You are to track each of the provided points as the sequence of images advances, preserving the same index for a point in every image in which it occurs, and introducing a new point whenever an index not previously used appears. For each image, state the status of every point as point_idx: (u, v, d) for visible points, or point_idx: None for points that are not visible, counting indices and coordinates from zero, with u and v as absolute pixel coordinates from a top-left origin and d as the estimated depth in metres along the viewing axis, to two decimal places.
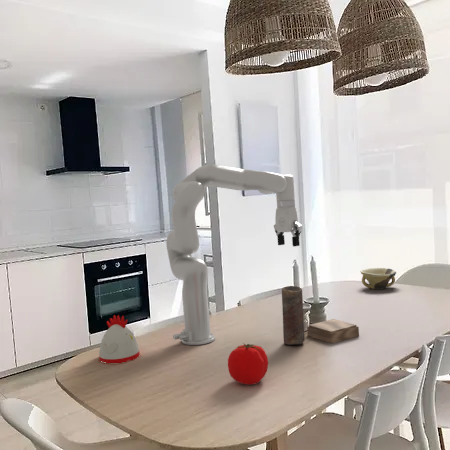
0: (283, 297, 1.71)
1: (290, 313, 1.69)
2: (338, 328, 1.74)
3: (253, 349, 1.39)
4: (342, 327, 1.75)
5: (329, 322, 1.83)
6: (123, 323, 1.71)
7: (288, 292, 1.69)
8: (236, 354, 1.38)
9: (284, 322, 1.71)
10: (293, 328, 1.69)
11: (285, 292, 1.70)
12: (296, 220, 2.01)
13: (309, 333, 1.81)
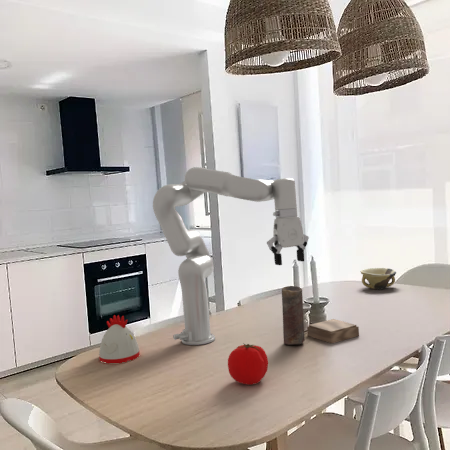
0: (283, 297, 1.71)
1: (290, 313, 1.69)
2: (338, 328, 1.74)
3: (253, 349, 1.39)
4: (342, 327, 1.75)
5: (329, 322, 1.83)
6: (123, 323, 1.71)
7: (288, 292, 1.69)
8: (236, 354, 1.38)
9: (284, 322, 1.71)
10: (293, 328, 1.69)
11: (285, 292, 1.70)
12: None
13: (309, 333, 1.81)
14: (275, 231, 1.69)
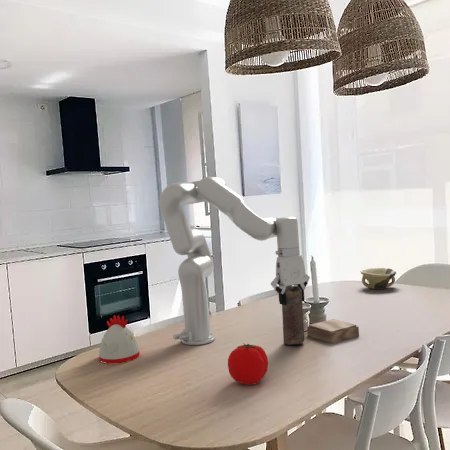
0: None
1: (290, 313, 1.69)
2: (338, 328, 1.74)
3: (253, 349, 1.39)
4: (342, 327, 1.75)
5: (329, 322, 1.83)
6: (123, 323, 1.71)
7: (288, 292, 1.69)
8: (236, 354, 1.38)
9: (284, 322, 1.71)
10: (293, 328, 1.69)
11: (285, 292, 1.70)
12: None
13: (309, 333, 1.81)
14: (277, 270, 1.69)
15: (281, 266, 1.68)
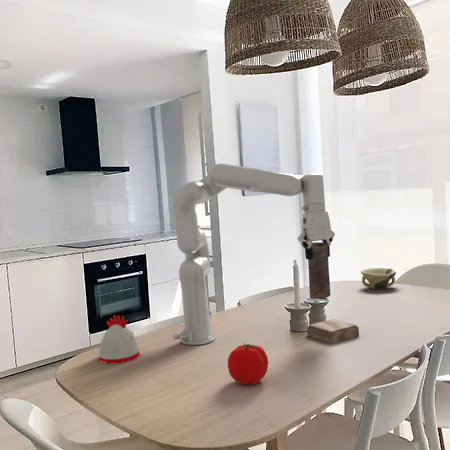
0: None
1: (316, 268, 1.73)
2: (338, 328, 1.74)
3: (253, 349, 1.39)
4: (342, 327, 1.75)
5: (329, 322, 1.83)
6: (123, 323, 1.71)
7: (314, 247, 1.72)
8: (236, 354, 1.38)
9: (310, 277, 1.75)
10: (320, 282, 1.73)
11: (311, 247, 1.73)
12: None
13: (309, 333, 1.81)
14: (304, 225, 1.73)
15: (307, 221, 1.71)
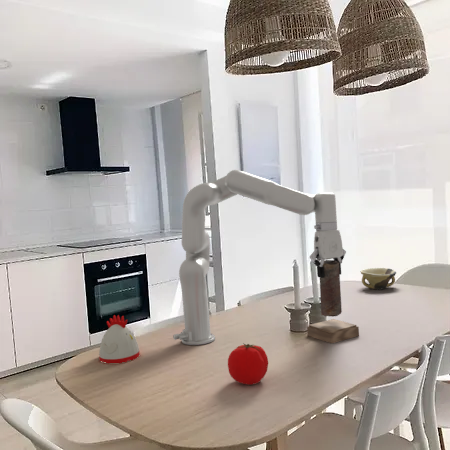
0: None
1: (328, 285, 1.75)
2: (338, 328, 1.74)
3: (253, 349, 1.39)
4: (342, 327, 1.75)
5: (329, 322, 1.83)
6: (123, 323, 1.71)
7: (326, 265, 1.75)
8: (236, 354, 1.38)
9: (322, 294, 1.77)
10: (331, 300, 1.75)
11: (323, 265, 1.75)
12: None
13: (309, 333, 1.81)
14: (316, 243, 1.75)
15: (320, 240, 1.73)
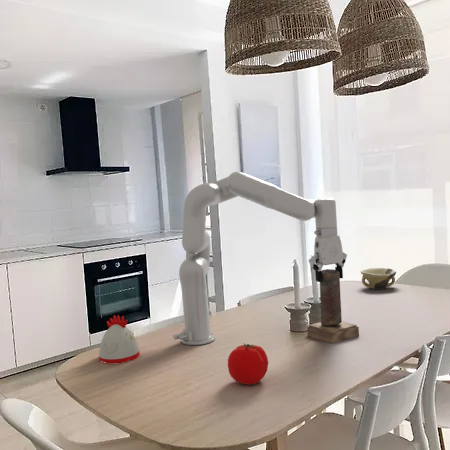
0: None
1: (328, 295, 1.75)
2: (338, 328, 1.74)
3: (253, 349, 1.39)
4: (342, 327, 1.75)
5: None
6: (123, 323, 1.71)
7: (326, 274, 1.75)
8: (236, 354, 1.38)
9: (322, 304, 1.77)
10: (331, 309, 1.75)
11: (323, 274, 1.76)
12: None
13: (309, 333, 1.81)
14: (316, 249, 1.75)
15: (320, 245, 1.73)
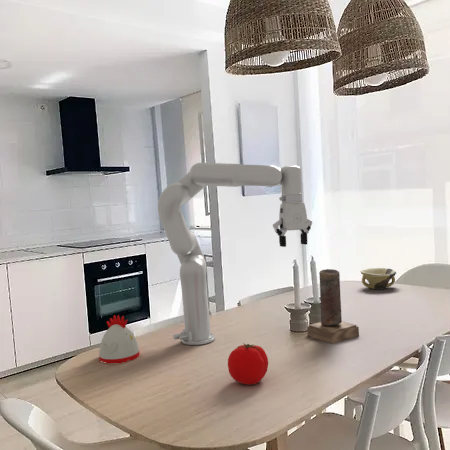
0: (321, 279, 1.77)
1: (329, 295, 1.75)
2: (338, 328, 1.74)
3: (253, 349, 1.39)
4: (342, 327, 1.75)
5: None
6: (123, 323, 1.71)
7: (326, 274, 1.75)
8: (236, 354, 1.38)
9: (322, 304, 1.77)
10: (331, 309, 1.75)
11: (323, 274, 1.76)
12: None
13: (309, 333, 1.81)
14: (281, 215, 1.80)
15: (284, 211, 1.79)
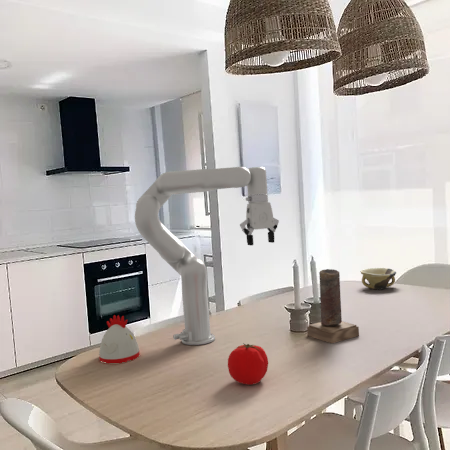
0: (321, 279, 1.77)
1: (328, 295, 1.75)
2: (338, 328, 1.74)
3: (253, 349, 1.39)
4: (342, 327, 1.75)
5: None
6: (123, 323, 1.71)
7: (326, 274, 1.75)
8: (236, 354, 1.38)
9: (322, 304, 1.77)
10: (331, 309, 1.75)
11: (323, 274, 1.76)
12: None
13: (309, 333, 1.81)
14: (247, 214, 1.87)
15: (250, 211, 1.85)
